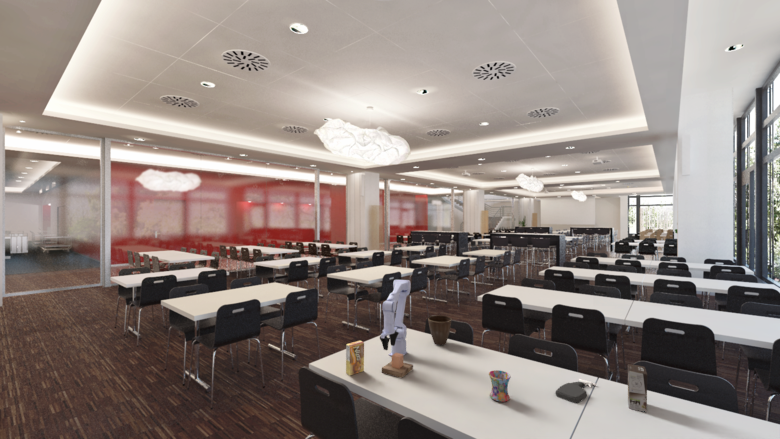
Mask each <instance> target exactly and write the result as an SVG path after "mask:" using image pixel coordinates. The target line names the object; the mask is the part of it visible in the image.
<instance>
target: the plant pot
mask: <svg viewBox="0 0 780 439" xmlns="http://www.w3.org/2000/svg"><path fill="white" fill-rule="evenodd" d="M427 321H428V326H429V331H430V335H431V338H432V341H433V343H434V345H436V346H445V345H446V344H447V342H448V338H449V336H450V331H451V328H452V327H451V326H452V317H449V316H447V315H432V316H431V315H430V316H429V317H428V318H427Z"/></svg>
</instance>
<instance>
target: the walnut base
mask: <svg viewBox="0 0 780 439" xmlns="http://www.w3.org/2000/svg"><path fill="white" fill-rule="evenodd" d="M412 370H414V364H412V363H407V362H404V361H403V366H402V367H401V368H400V369H398V368H394V367H392V360H391V361H390V362H389V363H387V364H385V365H384V366H382V367H381V373H382V374H385V375H389V376H393V377H396V378H400V379H402V378H404V377H405V376H406V375H408V374H409V373H410V372H411V371H412Z"/></svg>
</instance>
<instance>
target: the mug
mask: <svg viewBox="0 0 780 439" xmlns="http://www.w3.org/2000/svg"><path fill="white" fill-rule="evenodd" d="M488 376H489V379H490V381H491V390H490V392H489V397H490V398H491V399H492V400H493V401H496V402H500V403H504V402H509V400H510V395H509V392H508V385H509V382H510V380H511V378H512V377H511V374H510V373H509V372H507V371H504V370H501V369H500V370H498V369H495V370H491V371H489V372H488Z"/></svg>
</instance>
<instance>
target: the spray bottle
mask: <svg viewBox="0 0 780 439" xmlns="http://www.w3.org/2000/svg"><path fill="white" fill-rule="evenodd" d="M596 385H597V383H594V382H593V381H590V380H586V379H581V378H578V381H575V382H574V381H573V382H566V383H564V384H563V385H561V386H559V387H558V388H557V389H556V390H555V396H556V397H557V398H560V399H562V400H565V401H568V402H570V403H572V404H573V403H574V404H578V403H579V404H580V403H581V402H582V401H584V400H585V399H586V398H587V396H588V392H587V391H586V389H585V387H586V386H589V388H592V386H593V387H596Z"/></svg>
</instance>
